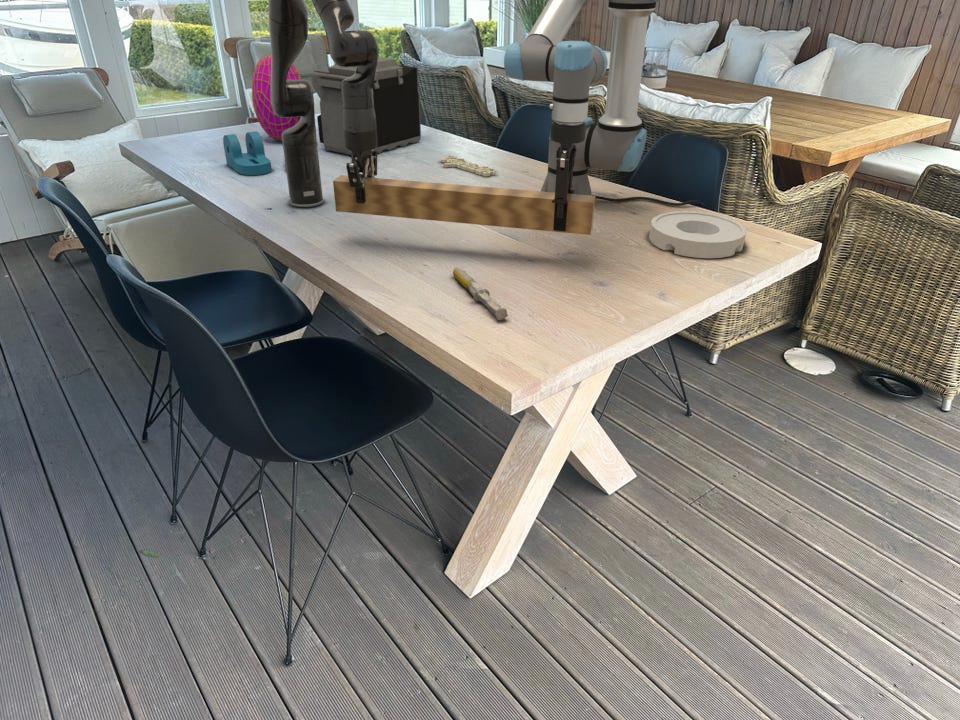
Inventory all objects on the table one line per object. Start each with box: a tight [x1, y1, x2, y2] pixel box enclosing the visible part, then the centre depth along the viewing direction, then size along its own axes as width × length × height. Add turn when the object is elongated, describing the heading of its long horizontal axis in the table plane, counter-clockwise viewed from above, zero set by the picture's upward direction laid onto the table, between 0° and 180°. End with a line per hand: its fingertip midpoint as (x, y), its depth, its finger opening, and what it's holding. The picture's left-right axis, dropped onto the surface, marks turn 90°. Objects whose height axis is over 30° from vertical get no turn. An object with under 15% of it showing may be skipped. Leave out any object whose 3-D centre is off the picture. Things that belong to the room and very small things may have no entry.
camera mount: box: [222, 131, 272, 176], centre depth 226 cm, size 18×10×10 cm, turn 35°
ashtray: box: [648, 210, 747, 259], centre depth 174 cm, size 23×23×4 cm
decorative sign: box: [440, 154, 496, 177], centre depth 233 cm, size 26×1×10 cm
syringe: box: [452, 266, 509, 321], centre depth 145 cm, size 25×4×3 cm, turn 21°
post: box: [332, 174, 597, 236], centre depth 161 cm, size 62×5×8 cm, turn 77°
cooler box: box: [310, 57, 422, 156], centre depth 250 cm, size 37×22×30 cm, turn 144°
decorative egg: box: [251, 54, 302, 142], centre depth 257 cm, size 19×19×30 cm
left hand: (365, 198), depth 166 cm, fingers closed on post, 5 cm apart
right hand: (561, 225), depth 158 cm, fingers closed on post, 5 cm apart
